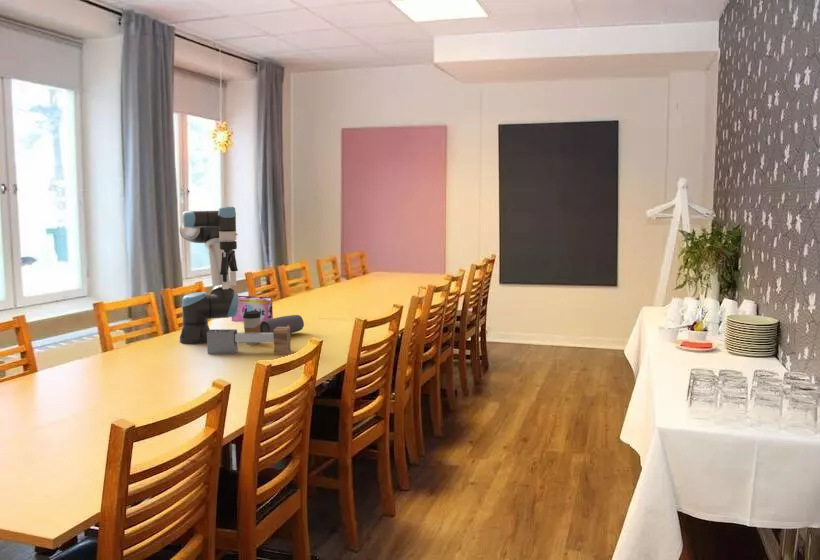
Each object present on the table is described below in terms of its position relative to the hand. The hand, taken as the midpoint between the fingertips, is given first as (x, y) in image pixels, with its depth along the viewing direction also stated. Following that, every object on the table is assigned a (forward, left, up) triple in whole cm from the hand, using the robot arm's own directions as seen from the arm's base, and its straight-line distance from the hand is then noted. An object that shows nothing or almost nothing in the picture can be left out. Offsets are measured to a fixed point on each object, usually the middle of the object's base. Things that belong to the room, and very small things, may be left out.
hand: (229, 287), depth 331 cm
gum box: (-74, -7, -29) cm, 79 cm away
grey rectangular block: (+8, -2, -29) cm, 30 cm away
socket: (+8, +25, -29) cm, 39 cm away
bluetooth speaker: (-29, +18, -29) cm, 45 cm away
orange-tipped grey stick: (+8, +13, -24) cm, 28 cm away
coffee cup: (-12, +7, -29) cm, 32 cm away
